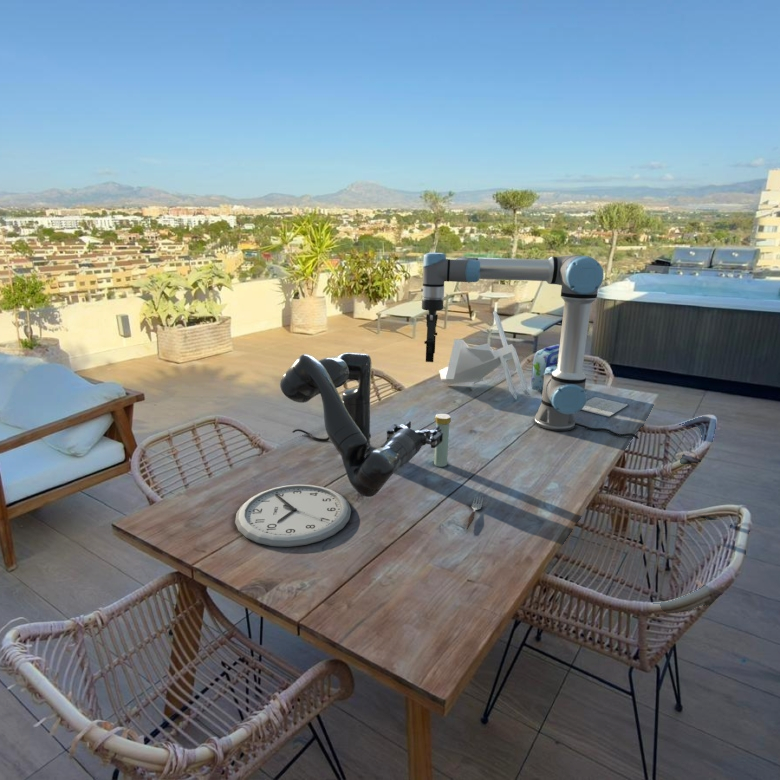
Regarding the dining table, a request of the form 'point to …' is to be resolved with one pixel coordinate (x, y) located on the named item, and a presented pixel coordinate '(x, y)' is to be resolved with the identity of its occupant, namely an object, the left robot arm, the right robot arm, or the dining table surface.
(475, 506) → the fork
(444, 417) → the lid
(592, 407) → the invitation card
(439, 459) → the jar
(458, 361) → the white plastic object
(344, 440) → the left robot arm
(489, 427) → the dining table surface
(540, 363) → the lunch box
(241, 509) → the wall clock
